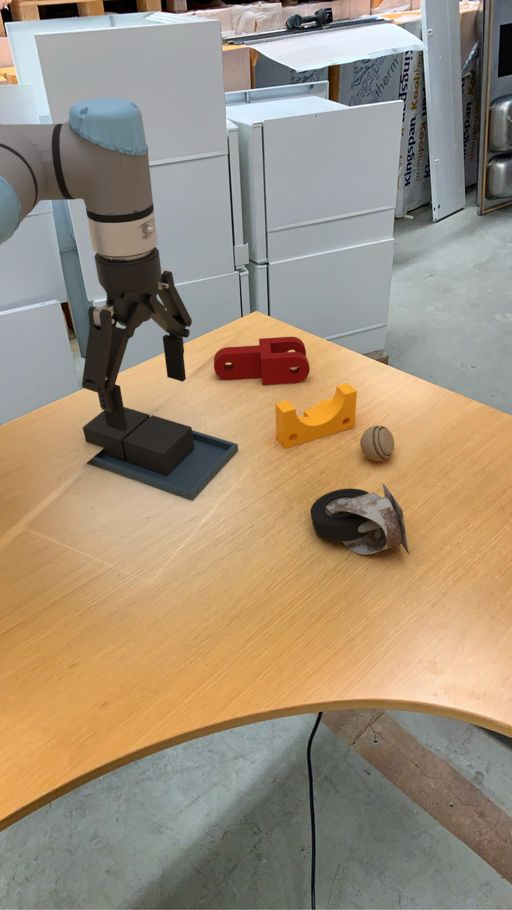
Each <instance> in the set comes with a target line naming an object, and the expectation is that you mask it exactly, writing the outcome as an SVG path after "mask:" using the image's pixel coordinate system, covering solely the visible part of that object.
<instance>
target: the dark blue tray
mask: <svg viewBox="0 0 512 910" xmlns="http://www.w3.org/2000/svg"><path fill="white" fill-rule="evenodd" d="M192 434H193V442H194V450H193V451H192V452H191V453H190V454H189V455H188V456H187V457H186V458H185V459H184V460H183V461H182V462H181V463H180V464H179V465H178V466H177V467H176V468H175V469H174V470H173V471H172V472H171V473H170V474H169V475H168V476H165V475H162V474H159V473H156V472H153V471H150V470H147V469H145V468H142V467H139V466H136V465H133V464H130V463H128V462H127V460H126V461H125V462H124V461H121V460H118V459H115V458H112V457H109V456H106V455H104V454H101V453H99V452H98V453H96V454H95V455H94V456H93V457H92V458H90V459H89V460H88V461H87V462H86V464H87V465H90V466H94V467H96V468H99V469H102V470H105V471H108V472H110V473H113V474H116V475H119V476H121V477H125V478H127V479H130V480H132V481H136V482H138V483H141V484H143V485H147V486H149V487H151V488H155V489H158V490H161V491H164V492H166V493H169V494H171V495H175V496H178V497H180V498H183V499H186V500H189V501H191V502H192V501H195V499H196V498H197V497H198V496H199V495H200V493H202V492H203V490H205V488H206V487H207V486H208V485H209V484H210V483H211V481H212V480H213V479H214V478H215V477H216V476H217V475H218V474H219V473H220V472H221V471H222V469H223V468H224V467H225V466H226V465H227V464H228V463H229V462H230V460H232V458H233V457H234V456H236V454H237V453H238V452H239V444H238V443H236V442H232V441H229V440H226V439H223V438H220V437H216V436H214V435H213V436H212V435H209V434H206V433H203V432H200V431H196V430H193V429H192Z"/></svg>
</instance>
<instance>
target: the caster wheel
mask: <svg viewBox="0 0 512 910" xmlns="http://www.w3.org/2000/svg"><path fill="white" fill-rule="evenodd" d="M382 488H383V494H384V496H381V495H380V494H378V493H376V492H373V491H372V492H368V491H366V490H364V489H360V488H341V489H337V490H336V489H335V490H333V491H330V492H327V493H325V494H323V495H322V496H320V497H318V498H317V499H316V500H315V501H314V502H313V504H312V505H311V507H310V511H309V512H310V517H311V522H312V526H313V530H314V532H315V534H316V535H317V536H319V537H320V538H321V539H323V540H326V541H330V542H337V543H343V545H344V546H345V547H346V548H347V549H348V550H349V551H351V552H352V553H355V554H357V555H371V554H375V553H379V552H382V551H386V550H389V549H393V548H395V547H399V546H401V547H403V549H404V551H405V552H406V554H407V555H410V550H409V544H408V543H409V542H408V538H407V530H406V524H405V518H404V511H403V508H402V506H401V505H400V504H399V502H398V501H397V500H396V498H395V497H394V495H393V494H392V493H391V491H390V490H389V489H388V487H387V486H386V484H385V483H384V482H382Z"/></svg>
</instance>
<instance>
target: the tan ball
mask: <svg viewBox="0 0 512 910" xmlns="http://www.w3.org/2000/svg"><path fill="white" fill-rule="evenodd" d="M359 445H360V449H361V452H362V454H363V455H364V456H365V457H366V458H368V459H369V460H371V461H374V462H382V461H386V460H388V459H390V457H392V455H393V454H394V450H395V439H394V435H393V434H392V432H391V431H390V430H389V429H388V428H387V427H386V426H384V425H372V426H370V427H368V428H367V429H365V431H364V432H363V433H362V435H361V437H360V444H359Z"/></svg>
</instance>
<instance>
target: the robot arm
mask: <svg viewBox="0 0 512 910" xmlns="http://www.w3.org/2000/svg"><path fill="white" fill-rule="evenodd" d="M68 117H69V118H68V120H67V122H64V123H29V124H27V123H26V124H25V123H23V124H22V123H21V124H20V123H18V124H16V123H15V124H11V123H10V124H9V123H8V124H1V123H0V246H1V245H3V244H4V243H5V242H7V241H8V240H9V239H11V238H12V237H13V235H14V233H16V231H17V230H18V229H19V227H20V226H21V224H22V222H23V221H24V219H25V218H26V217H27V216H28V215H29V214H30V213H31V212H32V211H33V210H34V209H35V207H36V206H38V204H39V203H40V202H41V201H64V200H66V201H68V200H69V201H71V200H73V201H74V200H83V202H84V205H85V212H86V217H87V223H88V229H89V235H90V236H89V237H90V241H91V248H92V250H93V251H94V252H95V254H94V263H95V268H96V269H95V270H96V273H97V279H98V283H99V285H100V286H101V287H102V289H103V290H104V291H105V294H106V301H105V305H102V306H100V307H97V306H94V305H92V306H89V308H88V311H87V314H88V315H87V316H88V323H89V324H88V325H89V329H88V336H87V344H86V349H85V350H86V351H85V358H84V364H83V365H84V367H83V374H82V381H81V387H82V388H83V389H85V390H88V391H90V392H94V393H97V395H98V402H99V407H100V409H101V410H102V411H104V412H105V417H106V422H107V426H109V427H112V428H115V429H117V430H120V431H123V432H124V431H125V430H126V429H127V424H126V418H125V412H124V407H125V406H124V402H123V396H122V391H121V385H118V384H117V378H118V375H119V372H120V369H121V366H122V364H123V363H122V362H123V360H124V356H125V352H126V350H127V346H128V342H129V340H130V339H131V338H133V337H134V335H135V331H136V329H137V328H139V327H140V326H141V325H143V323H145V322H148V321H150V320H152V321H153V322H154V323H156V325H158V326H159V327H160V328H161V329H162V330H163V331H164V332H165V333H167V334H163V336H162V343H163V351H164V359H165V360H164V361H165V367H166V377H167V379H168V378H169V379H172V380H176V381H179V382H185V381H186V380H187V376H186V367H185V366H186V365H185V359H184V358H185V357H184V356H185V355H184V354H185V345H184V338H185V339H187V338H189V336H190V332H191V331H190V329H189V328H190V327H191V326H192V324H193V321H192V317H191V315H190V314H189V312H188V310H187V308H186V305H185V303H184V302H183V300H182V298H181V295H180V293H179V292H178V289H177V288H176V286H175V281H174V276H173V272H172V271H169V270H166V269H162V266H161V265H162V264H161V259H160V258H161V257H160V256H161V255H160V250H159V249H158V248H157V245H158V242H159V241H158V236H157V235H158V234H157V227H156V219H155V211H154V209H155V208H154V199H153V190H152V189H153V187H152V181H151V180H152V179H151V178H152V177H151V170H150V169H151V168H150V159H149V145H148V144H147V140H146V134H145V128H144V122H143V117H142V111H141V109H140V107H139V106H138V105H137V104H136V102H134V101H133V100H130V99H128V98H123V97H98V98H85V99H82V100H78V101H76V102H73V103H72V104H71V105H70V106H69V109H68ZM159 299H160V300H159ZM117 324H119V325H120V326H122V327H124V328H122V327H118V326H117ZM187 327H188V328H187Z"/></svg>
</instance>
